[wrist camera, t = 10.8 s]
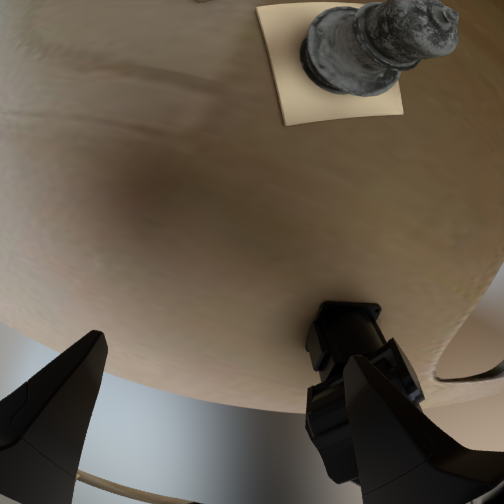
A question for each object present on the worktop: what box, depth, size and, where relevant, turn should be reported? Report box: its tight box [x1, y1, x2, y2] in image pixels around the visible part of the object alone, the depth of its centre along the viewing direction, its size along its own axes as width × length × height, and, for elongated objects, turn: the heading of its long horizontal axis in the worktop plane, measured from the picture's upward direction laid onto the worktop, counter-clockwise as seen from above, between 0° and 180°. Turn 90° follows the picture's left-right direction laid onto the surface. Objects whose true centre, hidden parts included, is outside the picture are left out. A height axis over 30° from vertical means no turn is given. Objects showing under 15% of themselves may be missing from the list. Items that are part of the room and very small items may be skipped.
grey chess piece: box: [300, 0, 459, 97], centre depth 9 cm, size 6×6×12 cm
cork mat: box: [256, 2, 403, 126], centre depth 14 cm, size 9×9×1 cm
